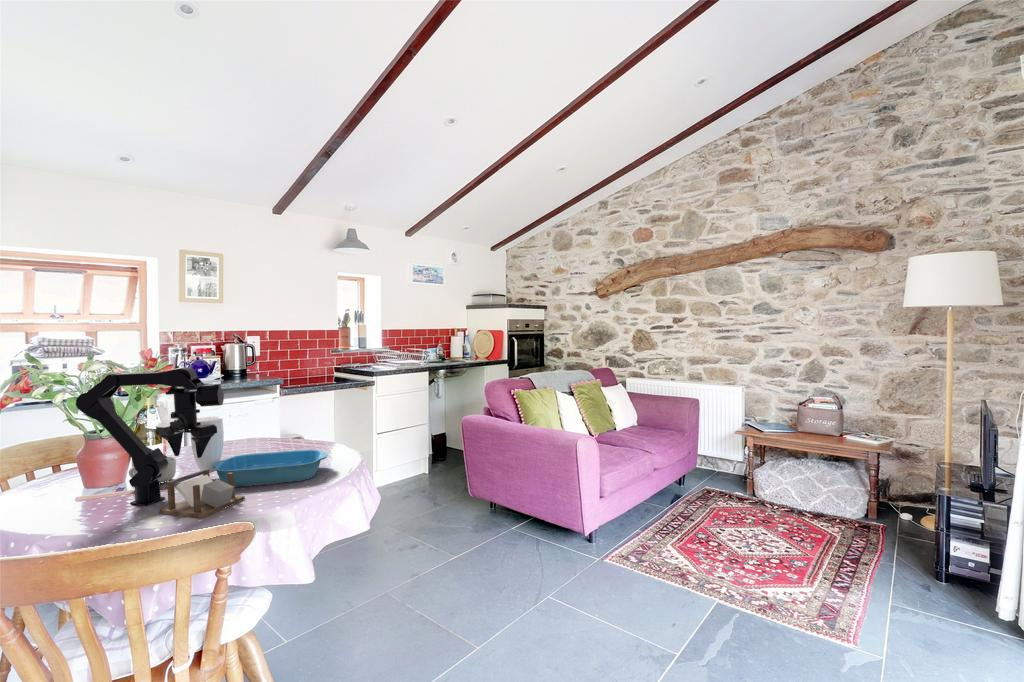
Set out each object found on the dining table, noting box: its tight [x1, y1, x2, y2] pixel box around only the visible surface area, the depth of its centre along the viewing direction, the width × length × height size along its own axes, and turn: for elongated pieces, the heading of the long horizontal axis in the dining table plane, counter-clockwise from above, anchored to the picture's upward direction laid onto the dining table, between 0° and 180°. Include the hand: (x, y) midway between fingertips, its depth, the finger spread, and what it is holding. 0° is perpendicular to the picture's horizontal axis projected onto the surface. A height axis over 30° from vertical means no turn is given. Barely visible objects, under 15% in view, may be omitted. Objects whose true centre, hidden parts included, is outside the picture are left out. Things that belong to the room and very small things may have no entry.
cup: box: [189, 415, 225, 474], centre depth 175 cm, size 10×10×22 cm
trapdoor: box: [175, 475, 214, 507], centre depth 149 cm, size 8×10×1 cm
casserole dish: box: [213, 449, 329, 488], centre depth 176 cm, size 37×22×7 cm, turn 105°
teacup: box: [128, 456, 177, 483], centre depth 172 cm, size 14×11×8 cm
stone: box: [201, 479, 233, 508], centre depth 147 cm, size 5×5×6 cm
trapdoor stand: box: [158, 469, 246, 519], centre depth 149 cm, size 16×15×9 cm
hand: (188, 456), depth 157 cm, fingers open, 9 cm apart
